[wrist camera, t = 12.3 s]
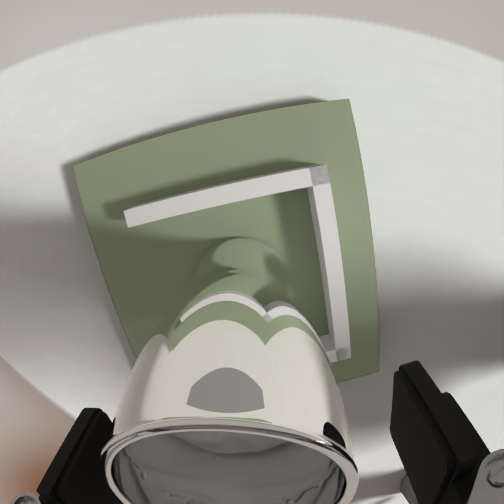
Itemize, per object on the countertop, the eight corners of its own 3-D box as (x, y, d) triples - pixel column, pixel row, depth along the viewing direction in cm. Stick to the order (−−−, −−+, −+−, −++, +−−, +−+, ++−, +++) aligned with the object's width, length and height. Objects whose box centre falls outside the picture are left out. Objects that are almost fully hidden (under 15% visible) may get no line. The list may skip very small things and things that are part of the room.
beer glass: (165, 277, 20) (50, 464, 6) (247, 206, 19) (235, 349, 5) (237, 348, 22) (224, 555, 7) (317, 288, 21) (408, 488, 6)
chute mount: (339, 103, 19) (359, 92, 15) (371, 357, 25) (387, 386, 21) (86, 164, 20) (57, 167, 16) (165, 395, 26) (156, 426, 22)
